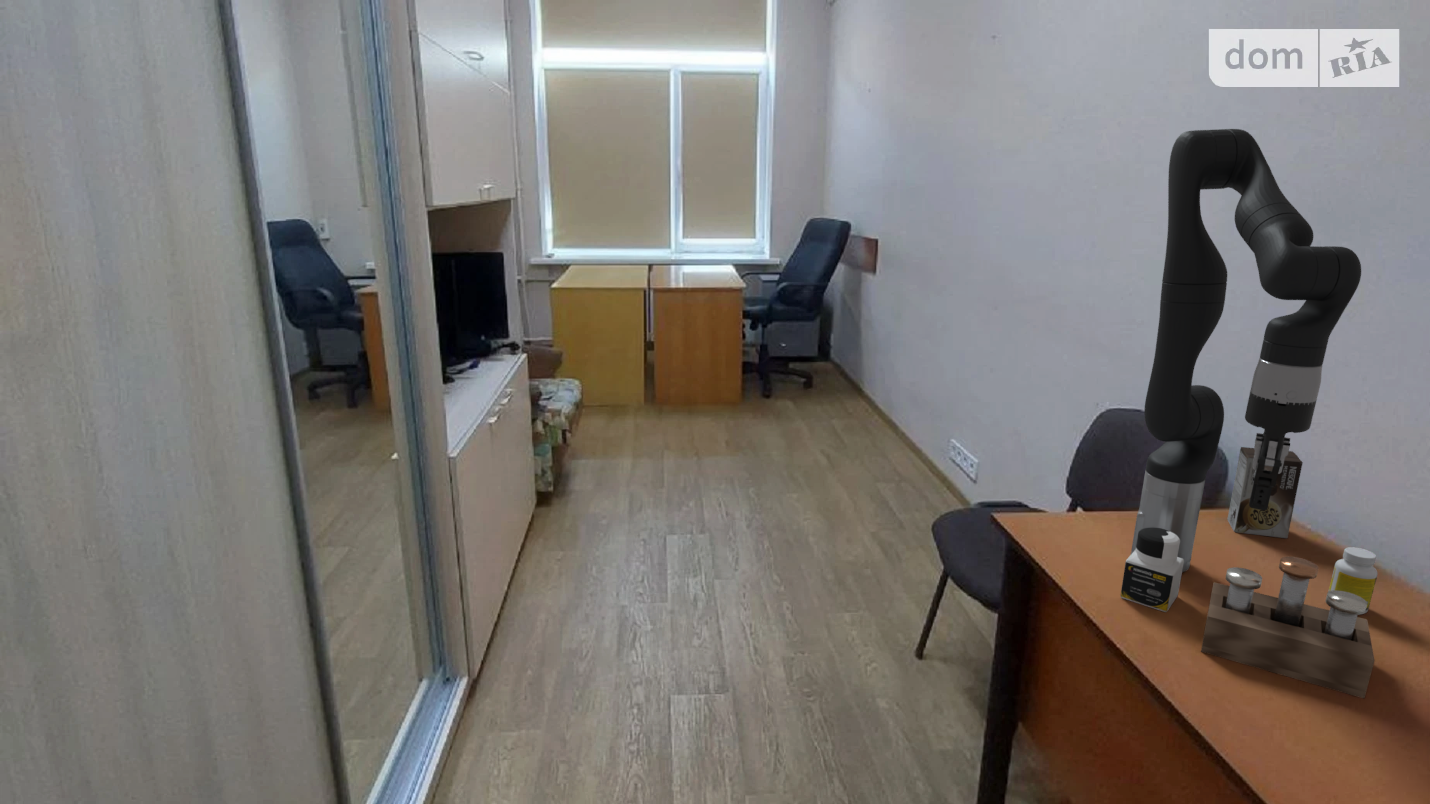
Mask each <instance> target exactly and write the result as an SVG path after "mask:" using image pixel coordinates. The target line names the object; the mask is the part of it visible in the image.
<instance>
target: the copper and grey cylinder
mask: <svg viewBox="0 0 1430 804" xmlns="http://www.w3.org/2000/svg"><path fill="white" fill-rule="evenodd" d="M1278 568H1279V571H1281V572H1282V573H1283V575H1282V580H1281V582H1280V583H1281V584H1280V588H1279V593H1278V596H1277V598H1278V601H1277V606H1276V610H1275V615H1274V619H1273V621H1277V622H1281V623H1285V624H1289V625H1292V626H1296V627H1299V622H1300V618H1301V614H1302V609H1303V605H1304V604H1305V600H1306V595H1307V592H1308V588H1309V584H1310V583H1309V582H1310V580H1311V579H1312V580H1313V579H1316V578H1317V577H1318V572H1319V566H1318V564H1316V563H1314V562H1313V561H1310V560H1309V559H1305V558H1301V557H1299V556H1298V557H1297V556H1283V557H1281V558H1280V560H1279V564H1278Z"/></svg>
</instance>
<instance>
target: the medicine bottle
mask: <svg viewBox="0 0 1430 804" xmlns="http://www.w3.org/2000/svg"><path fill="white" fill-rule="evenodd" d="M1179 544H1180V539H1179V537H1178V536H1177V535H1176V534H1174V533H1172V532H1170V531H1168V530H1165V529H1162V528H1155V527H1150V528H1143V529H1141V530H1140V531H1139V532H1138V538H1137V544H1136V549H1135V551H1134V552H1133V553H1132V554H1131V553H1130V555H1129V556H1128V558H1126V560H1125V564H1124V571H1123V577H1122V583H1121V589H1120V590H1121V591H1120V594H1119V595H1120V598H1121V599H1123V600H1127V601H1129V602H1132V603H1135V604H1138V605H1142V606H1145V607H1148V608H1151V609H1155V610H1158V611H1161V612H1163V613H1167V612H1168V611H1169V610H1170V608H1171V607H1172V605H1173V603H1174V602H1175V600H1176V599H1177V597H1178V595H1179V591H1180V586H1181V579H1182V573H1183V572H1182V569H1183V564H1184V559H1182V558H1179V557H1177V556H1178V550H1179Z"/></svg>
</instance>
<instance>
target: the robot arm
mask: <svg viewBox="0 0 1430 804" xmlns="http://www.w3.org/2000/svg"><path fill="white" fill-rule="evenodd" d="M1167 180H1168V186H1167V187H1168V188H1167V191H1168V192H1167V193H1168V196H1167V197H1168V199H1167V200H1168V202H1167V203H1168V205H1167V207H1168V209H1167V212H1168V214H1167V215H1168V216H1167V236H1166V239H1167V240H1166V248H1165V258H1164V264H1163V265H1164V266H1163V273H1162V280H1161V281H1162V282H1161V291H1160V301H1159V302H1160V303H1159V318H1158V327H1157V334H1156V335H1157V336H1156V343H1155V344H1156V345H1155V349H1154V350H1155V352H1154V358H1153V362H1152V363H1153V364H1152V369H1151V374H1150V376H1149V382H1148V386H1147V392H1146V396H1145V402H1144V410H1143V412H1144V422H1145V424H1146V425H1145V426H1146V428H1147V429H1148V432H1149V433H1150V434H1151V436H1152V437H1154V438H1155V439H1156V440H1159V441H1160V442H1164V443H1163V444H1162V445H1161V446H1160V447H1158V448H1157V449H1156V450H1154V451H1152V452H1151V453H1150V454H1149V455H1148V457H1147V459H1146V466H1145V471H1144V472H1145V473H1144V478H1143V483H1142V484H1143V485H1142V490H1141V496H1140V503H1139V509H1138V511H1137V513H1136V518H1135V519H1136V520H1135V526H1134V532H1133V539H1132V545H1131V552H1130V555H1131V554H1132V553H1133V552H1134V551H1135V549H1136V544H1137V538H1138V532H1139V531H1140V530H1141V529H1143V528H1150V527H1155V528H1162V529H1165V530H1168V531H1170V532H1172V533H1174V534H1176V535H1177V536H1178V537H1179V539H1180V544H1179V550H1178V556H1177V557H1179V558H1182V559H1184V564H1183V569H1182V573H1185V572H1187V571H1188V570H1189V568H1190V565H1191V560H1192V554H1193V548H1194V544H1195V537H1196V533H1197V526H1198V523H1199V515H1200V511H1201V505H1202V500H1203V493H1204V487H1205V483H1206V478H1207V473H1208V471H1209V469H1210V468H1211V467H1212V466H1213V464H1214V462H1215V459H1216V456H1217V452H1218V447H1219V444H1220V439H1221V437H1222V435H1221V434H1222V432H1223V426H1224V421H1225V410H1224V409H1225V407H1224V404H1223V401H1222V399H1221V396H1220V394H1218V393H1217V392H1216V391H1215V390H1214V389H1213V388H1211V387H1210V386H1209V387H1208V386H1207V385H1201V384H1200V385H1199V384H1197V385H1196V384H1195V385H1193V377H1194V372H1195V371H1194V370H1195V366H1196V364H1197V360H1198V358H1199V356H1200V353H1201V352H1202V350H1203V348H1204V347H1205V345H1206V343H1207V342H1208V341H1209V338H1210V337H1211V336H1212V335H1213V332H1214V330H1215V329H1216V328H1217V325H1219V321H1220V320H1221V317H1222V315H1223V313H1224V312H1223V311H1224V307H1225V304H1226V303H1225V301H1226V294H1227V285H1228V283H1227V282H1228V269H1227V266H1226V263H1225V261H1224V259H1223V257H1222V255H1221V253H1220V251H1219V249H1218V248H1217V246H1216V244H1215V243H1214V241H1213V240H1212V238H1211V237H1210V235H1209V232H1208V231H1207V229H1206V227H1205V224H1204V221H1203V218H1202V213H1201V212H1202V211H1201V190H1222V189H1223V190H1224V189H1227V188H1229V189H1233V190H1235V192H1237V193H1238V194H1239V195H1240V197H1239V200H1238V203H1237V205H1236V208H1235V211H1234V224H1235V227H1236V230H1237V232H1238V234H1239V236H1240V238H1242V240H1243V241H1244V242H1245V244H1246V245H1247V246H1248V248H1249V249H1250V250H1251V251H1252V252H1253V254H1254V258H1255V262H1256V267H1257V271H1258V276H1259V283H1260V286H1261V287H1262V289H1263V291H1264V292H1266V293H1267V294H1268V295H1269V296H1271V297H1273V298H1276V299H1279V300H1283V301H1304V303H1303V304H1302V306H1301V307H1300V308H1299V309H1298V310H1297V311H1296V312H1293V313H1290V314H1287V315H1281V316H1277V317H1274V318H1272V319H1271V320H1269V321H1268V322H1267V325H1266V328H1265V331H1264V334H1263V339H1262V344H1261V350H1260V354H1259V359H1258V362H1257V364H1256V367H1255V369H1254V373H1253V376H1252V381H1251V385H1250V390H1249V396H1248V400H1247V405H1246V410H1245V414H1244V420H1245V422H1247V423H1248V424H1250V425H1251V426H1253V427H1256V428H1262V429H1263V430H1264V431H1263V433H1261V432H1256V435H1255V439H1254V447H1253V448H1254V450H1255V454H1254V458H1253V466H1252V468H1253V469H1254V470H1255V474H1253V479H1252V481H1253V487H1252V492H1251V497H1250V501H1249V506H1250V507H1251V508H1254V509H1259V510H1266V509H1267V508H1268V504H1269V499H1270V495H1271V491H1272V487H1274V486H1275V485H1276V479H1277V476H1278V474H1280V473H1281V472H1282V468H1283V464H1284V459H1285V456H1287V455H1288V452H1289V451H1290V448H1291V443H1290V442H1291V437H1287V436H1286V434H1289V433H1294V434H1297V433H1303V432H1307V431H1308V430H1310V428H1311V426H1312V425H1311V424H1312V421H1313V417H1314V413H1315V409H1316V405H1317V400H1318V396H1319V392H1320V387H1321V383H1322V371H1323V364H1324V360H1325V355H1326V352H1327V347H1328V343H1329V338H1330V336H1331V333H1332V332H1333V330H1334V328H1335V327H1336V325H1337V324H1338V322H1339V320H1340V319H1341V318H1342V317H1341V316H1342V315H1343V313H1344V312H1345V310H1346V308H1347V306H1348V305H1349V303H1350V302H1351V300H1352V299H1353V296H1354V294H1355V293H1356V291H1357V289H1358V287H1359V284H1360V282H1361V277H1362V264H1361V261H1360V259H1359V257H1358V254H1357V253H1355V251H1353V250H1352V249H1350V248H1348V247H1344V246H1312V244H1313V242H1314V231H1313V228H1312V227H1311V224H1310V223H1309V222H1308V221H1307V220H1306V219H1305V217H1303V215H1302V214H1301V213H1300V211H1298V209H1297V208H1296V207H1295V206H1294V205H1293V204H1292V203H1291V202H1290V201H1289V200H1288V198H1287V197H1286V196H1285V194H1284V193H1283V191H1282V190H1281V189H1280V186H1279V184H1278V183H1277V181H1276V179H1275V176H1274V174H1273V172H1272V170H1271V167H1270V165H1269V164H1268V161H1267V160H1266V157H1265V156H1264V154H1263V151H1262V149H1261V147H1260V146H1259V143H1258V141H1256V139H1255V137H1253V135H1252V134H1250V133H1249V132H1248V131H1246V130H1244V129H1239V128H1224V129H1223V128H1222V129H1200V130H1199V129H1195V130H1187V131H1184V132H1182V133H1180V134H1179V136H1178V137H1177V138H1176V139H1175V141H1174V143H1173V146H1172V148H1171V152H1170V156H1169V165H1168V179H1167ZM1285 436H1286V437H1285Z"/></svg>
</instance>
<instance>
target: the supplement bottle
mask: <svg viewBox="0 0 1430 804" xmlns="http://www.w3.org/2000/svg"><path fill="white" fill-rule="evenodd" d="M1376 560H1377V555H1376V554H1375V553H1374V552H1373V551H1370V550H1367V549H1366V548H1365V549H1364V548H1361V547H1353V546H1348V547H1345V548H1344V550H1343V554H1342V558H1341V559H1338V560H1337V561H1335V563H1334V567H1333V572H1332V575H1331V580H1330V584H1329V588H1328V592H1329V591H1333V590H1337V591H1345V592H1349V593H1352V594H1355V595H1357V596H1359V597H1361V598H1363V599H1364V600H1365V601H1366V602H1367V607H1366V611H1365V613H1364V614H1366V613H1367V612H1368V611H1369V608H1370V605H1371V601H1372V598H1373V597H1372V596H1373V594H1374V590H1375V586H1376V582H1377V579H1378V571H1377V569H1376V568H1375V567H1374V565H1375V564H1376ZM1328 592H1327V593H1328Z"/></svg>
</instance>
